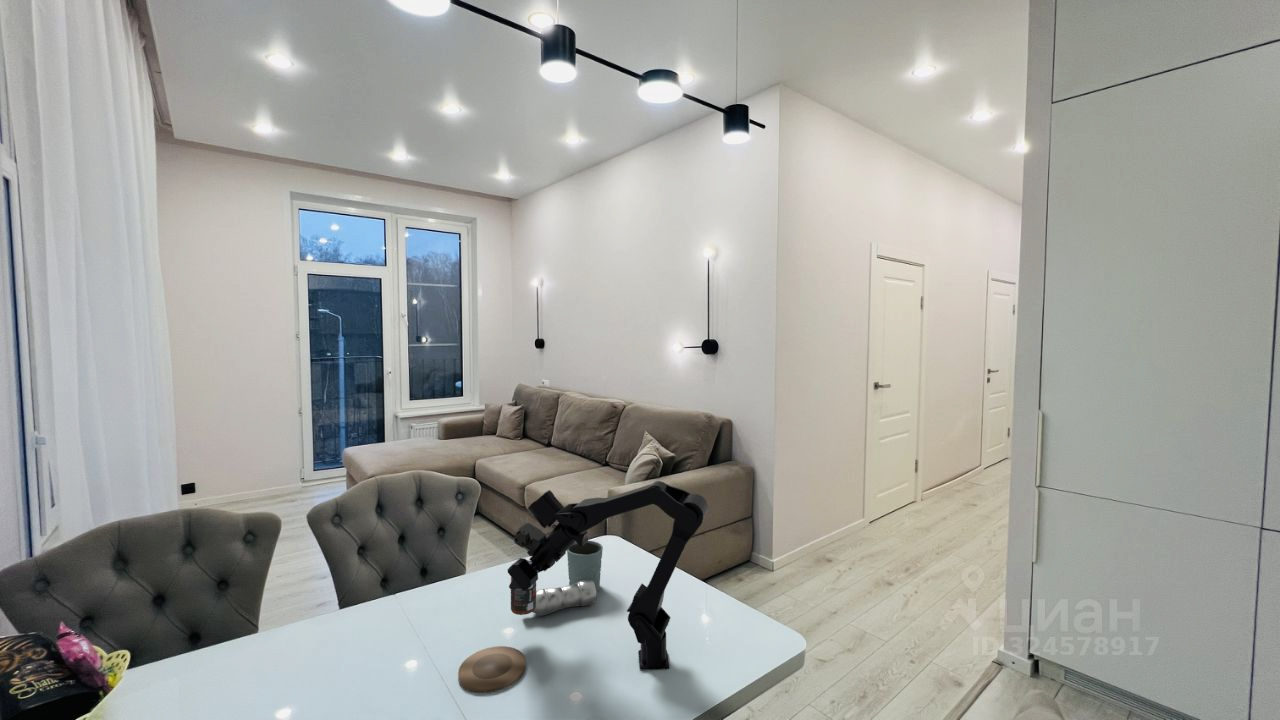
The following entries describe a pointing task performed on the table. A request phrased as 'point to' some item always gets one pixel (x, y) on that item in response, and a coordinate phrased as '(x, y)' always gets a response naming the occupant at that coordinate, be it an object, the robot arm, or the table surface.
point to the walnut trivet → (492, 669)
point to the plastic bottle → (565, 597)
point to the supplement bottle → (523, 599)
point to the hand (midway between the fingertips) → (517, 582)
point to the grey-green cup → (585, 562)
